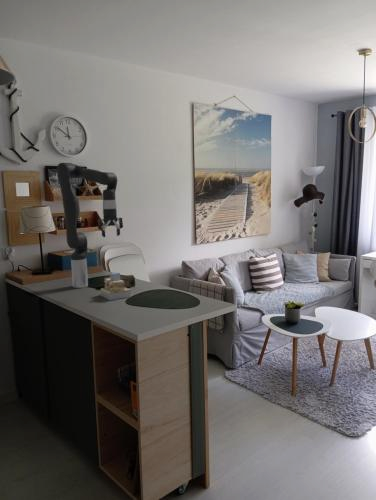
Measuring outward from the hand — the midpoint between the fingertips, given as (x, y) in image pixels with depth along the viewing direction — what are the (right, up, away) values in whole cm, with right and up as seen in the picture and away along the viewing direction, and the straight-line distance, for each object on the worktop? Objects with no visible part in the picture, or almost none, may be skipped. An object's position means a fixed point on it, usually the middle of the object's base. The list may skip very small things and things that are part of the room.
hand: (111, 236), depth 233 cm
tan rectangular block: (+3, -29, -7) cm, 30 cm away
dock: (+4, -33, -7) cm, 35 cm away
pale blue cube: (+4, -25, -9) cm, 26 cm away
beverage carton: (+2, -31, +16) cm, 35 cm away
